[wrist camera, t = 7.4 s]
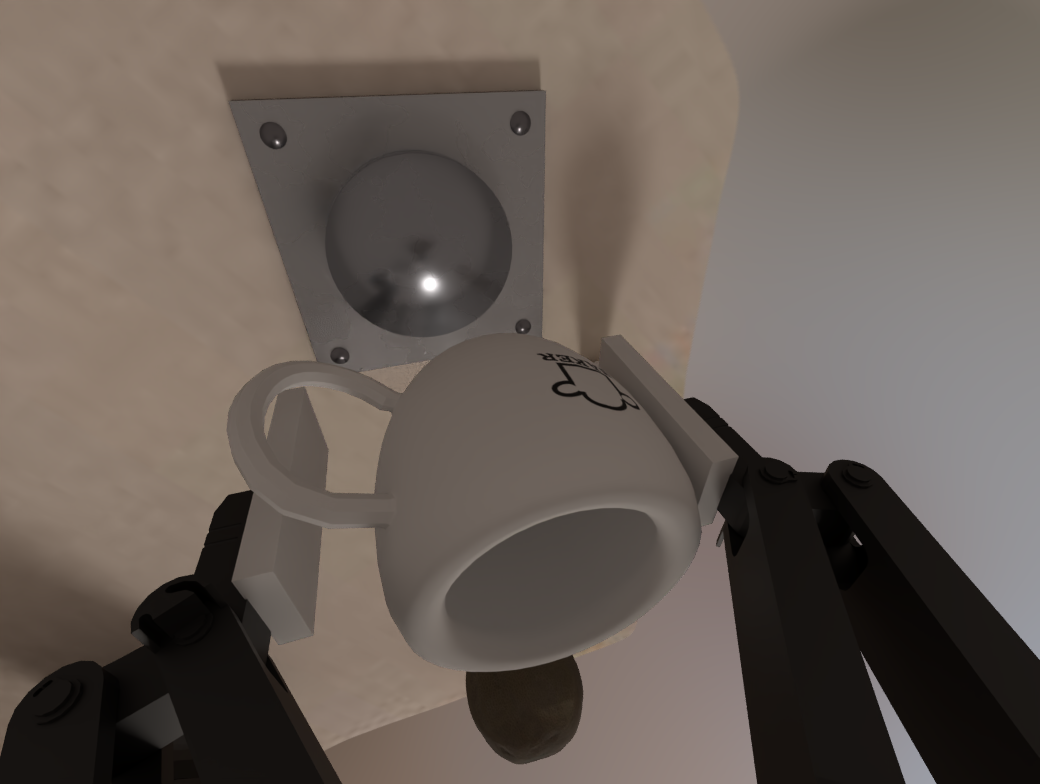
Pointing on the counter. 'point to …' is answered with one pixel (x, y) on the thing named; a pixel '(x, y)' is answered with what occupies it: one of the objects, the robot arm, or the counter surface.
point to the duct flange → (404, 217)
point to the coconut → (527, 708)
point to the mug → (498, 499)
